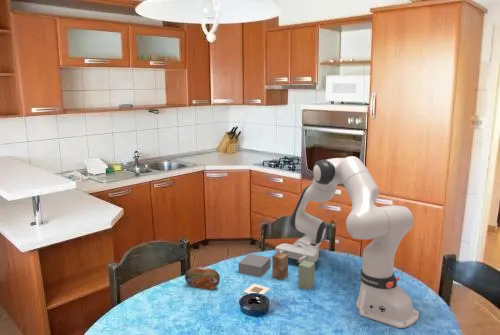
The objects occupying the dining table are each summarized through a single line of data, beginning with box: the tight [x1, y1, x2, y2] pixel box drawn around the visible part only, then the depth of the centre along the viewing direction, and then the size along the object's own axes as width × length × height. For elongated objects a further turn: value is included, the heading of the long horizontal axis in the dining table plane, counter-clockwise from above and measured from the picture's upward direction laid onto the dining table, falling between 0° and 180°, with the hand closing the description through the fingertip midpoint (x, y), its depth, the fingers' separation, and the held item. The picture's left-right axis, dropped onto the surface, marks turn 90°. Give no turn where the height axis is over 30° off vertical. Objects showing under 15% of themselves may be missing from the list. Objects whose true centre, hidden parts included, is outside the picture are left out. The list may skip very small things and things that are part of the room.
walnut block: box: [271, 252, 289, 281], centre depth 182 cm, size 5×5×10 cm
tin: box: [184, 266, 221, 291], centre depth 174 cm, size 15×3×8 cm, turn 73°
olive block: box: [297, 261, 316, 291], centre depth 173 cm, size 5×5×10 cm
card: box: [243, 283, 271, 295], centre depth 171 cm, size 8×8×1 cm
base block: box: [238, 253, 272, 278], centre depth 189 cm, size 11×11×5 cm
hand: (288, 258), depth 188 cm, fingers open, 8 cm apart
